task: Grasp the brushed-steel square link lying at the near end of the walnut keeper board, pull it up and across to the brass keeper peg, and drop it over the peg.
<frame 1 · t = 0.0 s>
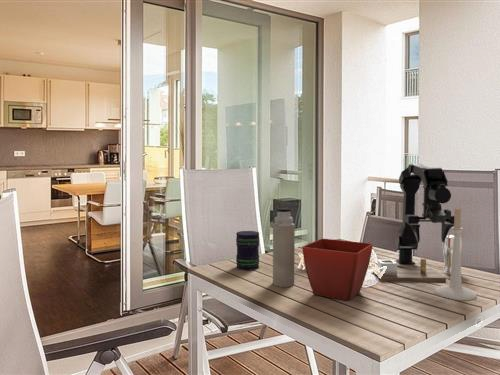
hand: (430, 241, 167), 15 cm above the table, fingers open, 9 cm apart
storage jar: (247, 268, 187), on the table
plant pot: (337, 293, 151), on the table
candlestick: (455, 294, 150), on the table
keeper board: (407, 276, 172), on the table
steel link: (386, 272, 172), point 1 cm above the table, touching keeper board
thermos bottle: (283, 284, 163), on the table
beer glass: (451, 273, 179), on the table
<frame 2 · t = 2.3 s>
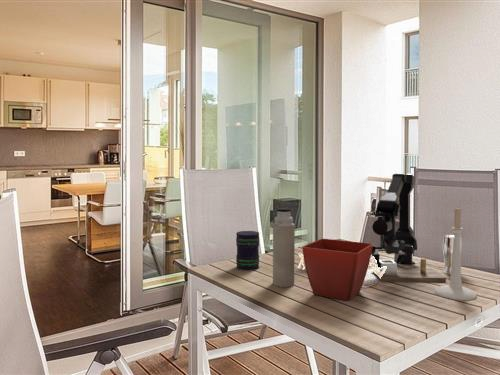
hand: (386, 270, 172), 2 cm above the table, fingers closed on steel link, 6 cm apart
steel link: (386, 272, 172), point 1 cm above the table, touching gripper, keeper board
everything else where it was.
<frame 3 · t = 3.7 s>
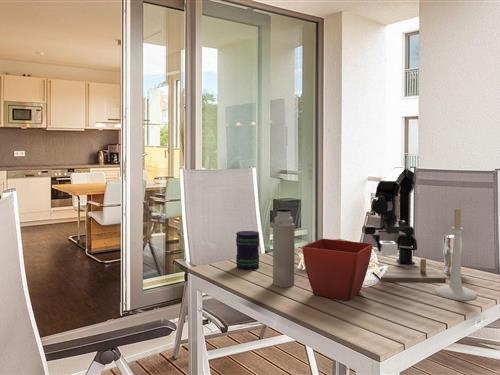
hand: (387, 251, 172), 10 cm above the table, fingers closed on steel link, 6 cm apart
steel link: (387, 253, 172), point 9 cm above the table, touching gripper
everything else where it was.
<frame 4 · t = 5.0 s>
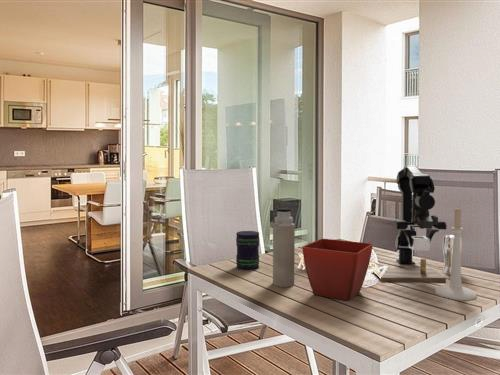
hand: (418, 246, 171), 12 cm above the table, fingers closed on steel link, 6 cm apart
steel link: (418, 248, 171), point 11 cm above the table, touching gripper
everything else where it was.
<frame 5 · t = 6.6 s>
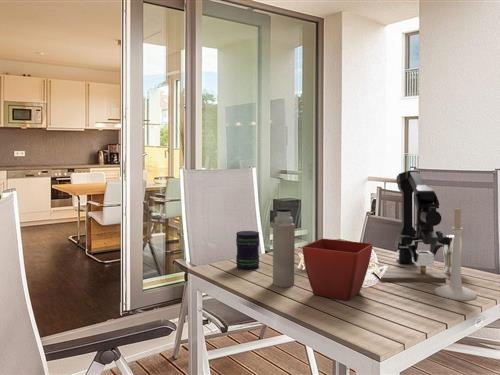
hand: (423, 261, 172), 6 cm above the table, fingers closed on steel link, 6 cm apart
steel link: (423, 263, 172), point 5 cm above the table, touching gripper
everything else where it was.
when the fingers open (3 cm above the table, at t = 7.8 s): steel link stays where it is, resting on keeper board.
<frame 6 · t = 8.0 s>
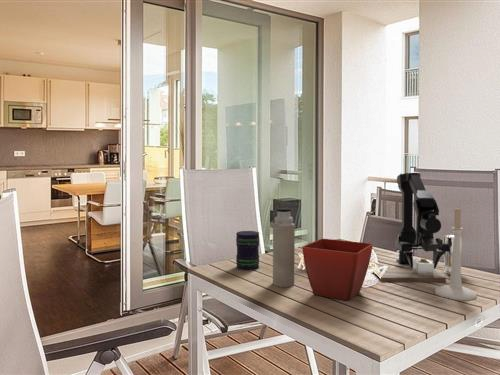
hand: (423, 268, 172), 3 cm above the table, fingers open, 8 cm apart
steel link: (422, 273, 172), point 1 cm above the table, touching keeper board
everything else where it was.
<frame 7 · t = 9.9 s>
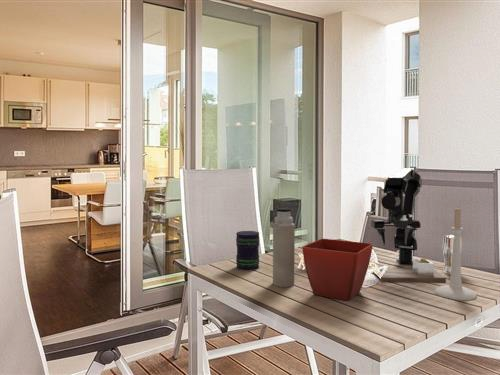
hand: (395, 244, 181), 11 cm above the table, fingers open, 9 cm apart
nothing on the table moved.
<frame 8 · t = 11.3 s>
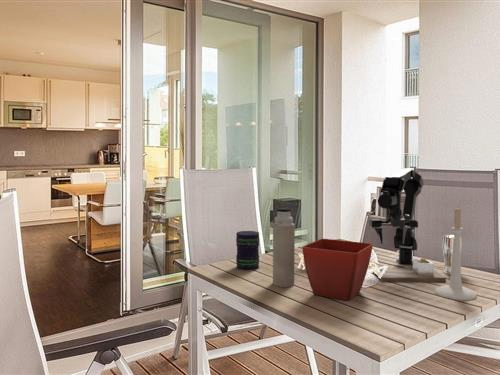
hand: (392, 244, 182), 11 cm above the table, fingers open, 9 cm apart
nothing on the table moved.
at the end: steel link 0.0 cm from the target spot on the keeper board, point 1.5 cm above the keeper board's base; the gripper is holding nothing; steel link tilted 0° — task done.
